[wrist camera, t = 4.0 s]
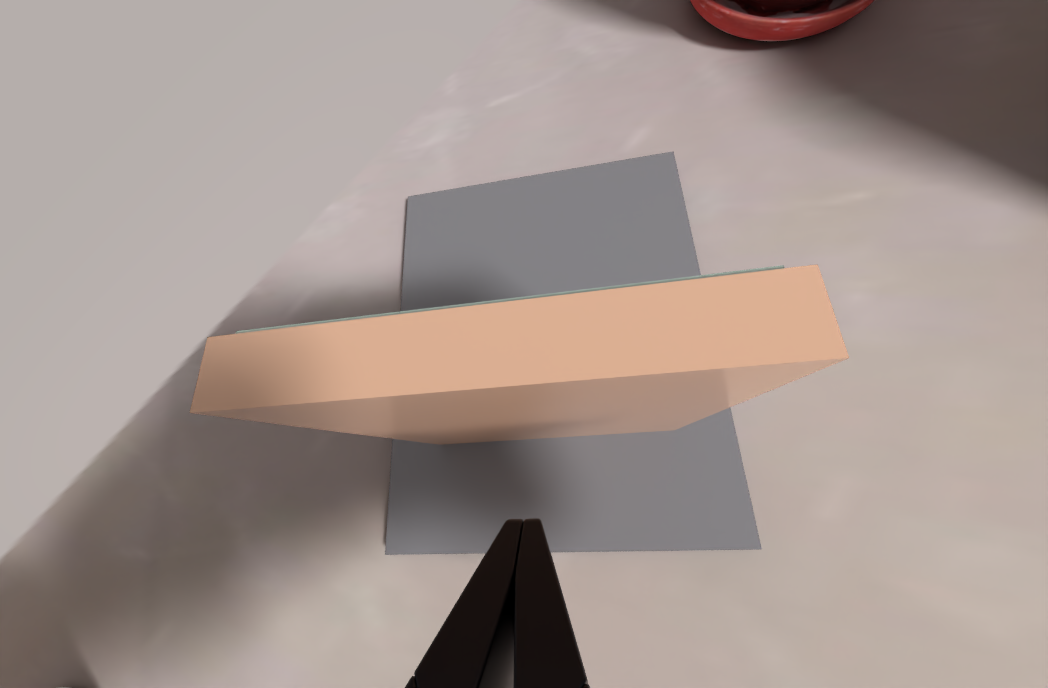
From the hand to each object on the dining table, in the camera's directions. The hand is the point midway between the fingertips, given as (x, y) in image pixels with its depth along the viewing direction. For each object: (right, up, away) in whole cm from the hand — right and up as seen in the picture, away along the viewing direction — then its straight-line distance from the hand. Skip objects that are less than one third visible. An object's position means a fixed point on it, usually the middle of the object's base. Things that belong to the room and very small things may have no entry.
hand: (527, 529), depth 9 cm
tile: (+1, +1, +9) cm, 9 cm away
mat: (+1, +5, +11) cm, 12 cm away
